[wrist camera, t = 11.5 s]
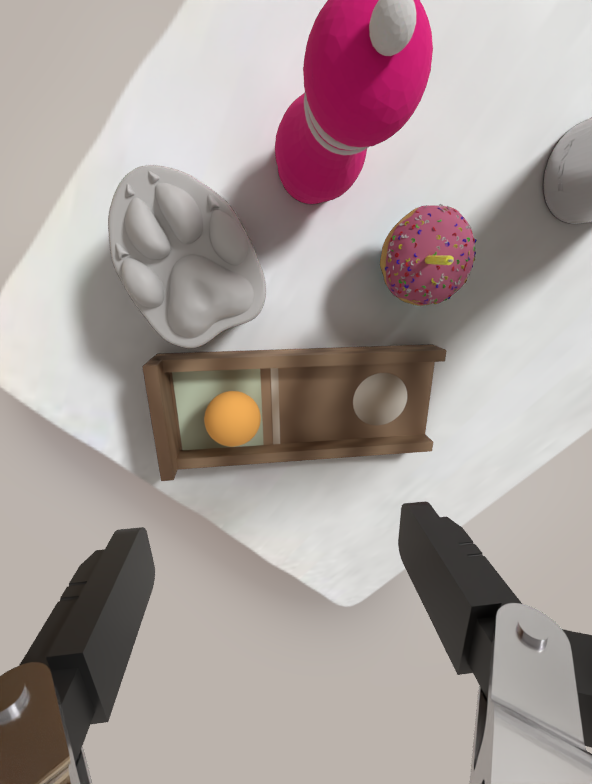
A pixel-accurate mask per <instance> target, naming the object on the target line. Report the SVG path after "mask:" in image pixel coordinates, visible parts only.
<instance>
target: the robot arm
mask: <svg viewBox="0 0 592 784" xmlns="http://www.w3.org/2000/svg"><path fill="white" fill-rule="evenodd" d="M544 195H545V199H546V203H547V205H548V207H549V209H550V211H551V212H552V213H553V214H554V216H555V217H556V218H558V219H560V220H561V221H563V222H566V223H570V224H580V223H586V222H592V117H591V118H589V119H587V120H585V121H583V122H581V123H579V124H577V125H575V126H574V127H573V128H571V129H570V130H569V131H568V132H567V133H566V134H565V135H564V136H563V137H562V138H561V139H560V140H559V142H558V143H557V145H556V146H555V148H554V149H553V151H552V154H551V156H550V158H549V160H548V163H547V167H546V170H545V175H544ZM398 545H399V552H400V556H401V559H402V562H403V564H404V566H405V568H406V570H407V572H408V574H409V576H410V578H411V580H412V582H413V584H414V586H415V588H416V591H417V593H418V595H419V597H420V599H421V601H422V603H423V605H424V607H425V609H426V611H427V613H428V615H429V617H430V619H431V621H432V623H433V625H434V627H435V629H436V631H437V633H438V635H439V638H440V640H441V642H442V644H443V646H444V648H445V650H446V652H447V654H448V656H449V658H450V660H451V662H452V664H453V666H454V668H455V670H456V672H457V674H458V675H460V674H467V673H473V674H474V675H475V677H476V679H477V681H478V683H479V685H480V686H479V692H478V700H477V710H476V721H475V732H474V742H473V754H472V764H471V775H470V783H469V784H592V754H591V753H589V752H587V751H586V748H585V746H589V747H592V635H588V634H582V633H576V632H572V631H567V630H563V629H561V628H560V626H559V625H558V624H556V622H554V621H553V620H552V619H551V618H550V617H548V616H547V615H546V614H544V613H543V612H540V611H539V610H537V609H535V608H533V607H530V606H527V605H524V604H522V603H521V602H520V601H519V599H518V598H517V597H516V596H515V594H514V593H513V592H512V590H511V589H510V588H509V587H508V585H507V584H506V583H505V582H504V580H503V579H502V578H501V576H500V575H499V574H498V573H497V571H496V570H495V569H494V567H493V566H492V565H491V564H490V562H489V561H488V560H487V559H486V557H485V556H483V555H482V552H481V551H480V550H479V548H478V547H477V546H476V545H475V544H473V541H472V540H471V538H470V537H469V536H468V534H467V533H466V532H465V531H464V529H463V528H462V527H461V526H459V525H458V524H456V523H455V522H454V521H452V520H451V519H449V518H448V517H439V516H438V514H437V513H436V512H435V510H434V509H433V508H432V506H431V505H430V504H429V503H428V502H416V503H405V504H403V505H402V508H401V518H400V529H399V539H398ZM154 577H155V567H154V562H153V557H152V553H151V548H150V544H149V540H148V535H147V531H146V530H145V528H143V527H142V528H131V529H121V530H117V531H115V533H114V534H113V536H112V538H111V539H110V541H109V543H108V545H107V547H106V549H105V550H97V551H95V552H94V553H93V554H92V555H91V556H90V557H89V558H88V559H87V560H85V561H84V563H82V564H81V565H80V566H79V568H78V570H77V571H76V573H75V575H74V576H73V578H72V580H71V581H70V583H69V587H67V588H66V590H65V591H64V593H63V594H62V596H61V599H60V602H58V603H57V604H56V606H55V608H54V609H53V611H52V613H51V614H50V616H49V618H48V619H47V621H46V622H45V624H44V626H43V627H42V629H41V631H40V632H39V634H38V636H37V637H36V639H35V641H34V642H33V644H32V645H31V647H30V649H29V651H28V652H27V654H26V655H25V657H24V659H23V660H22V662H21V664H20V665H19V666H17V667H15V668H13V669H11V670H9V671H7V672H6V673H4V674H3V675H1V676H0V784H92V780H91V776H90V773H89V769H88V765H87V761H86V757H85V753H84V750H83V747H82V745H83V742H84V740H85V737H86V734H87V731H88V729H89V726H90V724H97V723H104V722H108V721H109V717H110V715H111V712H112V708H113V705H114V703H115V699H116V697H117V694H118V691H119V687H120V684H121V681H122V679H123V676H124V673H125V670H126V667H127V664H128V661H129V658H130V655H131V652H132V649H133V645H134V643H135V640H136V637H137V634H138V631H139V628H140V625H141V621H142V619H143V616H144V612H145V610H146V607H147V604H148V601H149V598H150V595H151V592H152V589H153V585H154V579H155V578H154Z"/></svg>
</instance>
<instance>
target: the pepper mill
mask: <svg viewBox="0 0 592 784" xmlns="http://www.w3.org/2000/svg"><path fill="white" fill-rule="evenodd" d="M432 52H433V46H432V32H431V28H430V24H429V20H428V17H427V15H426V12H425V10H424V7H423V5H422V4H421V2H420V0H328V1H327V2H326V4H325V5H324V6H323V8H322V9H321V11H320V12H319V14H318V16H317V18H316V20H315V22H314V25H313V27H312V30H311V32H310V35H309V38H308V42H307V46H306V52H305V57H304V67H303V72H304V88H305V93H304V94H303V95H301V96H300V97H299V98H297V99H296V100H295V101H294V102H293V103H292V104H291V105H290V106H289V108H288V109H287V111H286V112H285V114H284V116H283V118H282V121H281V123H280V125H279V128H278V131H277V135H276V142H275V156H276V162H277V166H278V173H279V177H280V180H281V182H282V184H283V186H284V188H285V189H286V191H287V192H288V193H289V194H290V195H291V196H292V197H293V198H295V199H296V200H298V201H300V202H303V203H307V204H318V203H321V202H326V201H329V200H333V199H335V198H337V197H339V196H341V195H342V194H343V193H345V192H346V191H347V190H348V189H349V188H350V187H351V186H352V185H353V183H354V182H355V180H356V179H357V177H358V175H359V173H360V172H361V170H362V167H363V164H364V161H365V157H366V151H367V148H368V147H369V146H374V145H376V144H378V143H381V142H383V141H385V140H387V139H388V138H390V137H391V136H393V135H394V134H395V133H396V132H397V131H399V130H400V129H401V128H402V127H403V126H404V124H405V123H406V122H407V121H408V120H409V118H410V117H411V116H412V114H413V113H414V111H415V109H416V108H417V106H418V104H419V102H420V101H421V98H422V96H423V93H424V91H425V88H426V85H427V82H428V78H429V74H430V71H431V61H432Z"/></svg>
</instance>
